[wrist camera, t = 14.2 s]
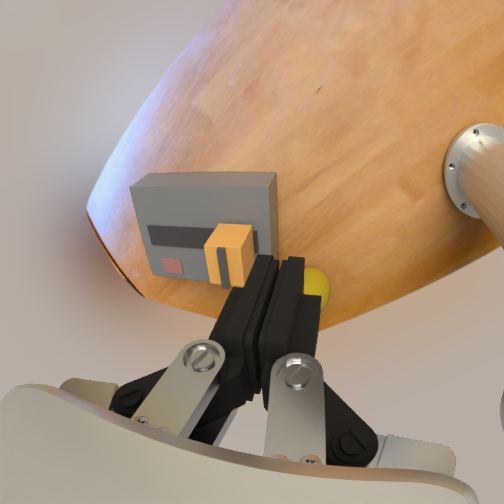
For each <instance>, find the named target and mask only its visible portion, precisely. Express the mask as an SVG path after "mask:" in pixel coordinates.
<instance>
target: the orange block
mask: <svg viewBox="0 0 504 504" xmlns="http://www.w3.org/2000/svg"><path fill="white" fill-rule="evenodd" d="M204 250H205V256H206V262H207V267H208V273H209V278H210V283H212V284H221V285H222V288H225V289H229V288H230V286H239V287H244V285H245V282H246V280H247V278H248V275H249V273H250V271H251V268H252V266H253V264H254V261H255V256H254V242H253V228H252V225H242V224H223V223H219V224H218V226H217V227H216V229H215V230H214V231H213V233H212V234H211V236H210V237H209V239H208V240H207V242H206V243H205V245H204Z"/></svg>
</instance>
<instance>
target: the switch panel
mask: <svg viewBox="0 0 504 504" xmlns="http://www.w3.org/2000/svg"><path fill="white" fill-rule="evenodd" d="M130 192H131V196H132V200H133V204H134V208H135V212H136V216H137V220H138V224H139V228H140V232H141V236H142V239H143V243H144V246H145V250H146V254H147V257H148V260H149V264H150V267H151V271H152V274H153V275H158V276H165V277H173V278H181V279H190V280H198V281H207V282H210V278H209V273H208V267H207V262H206V256H205V250H204V245H205V243H206V242H207V240H208V239H209V237H210V236H211V234H212V233H213V231H214V230H215V229H216V227H217V226H218V224H219V223H223V224H242V225H252V228H253V242H254V256H255V259H256V257H257V255H258V254H264V255H273V256H274V259H277V260H279V255H278V216H277V185H276V172H182V173H156V174H148V175H146V176H145V177H144V178H142V179H141V180H139V181H138V182H136V183H135V184H134V185H132V186H131V187H130Z"/></svg>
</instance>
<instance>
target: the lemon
mask: <svg viewBox="0 0 504 504" xmlns="http://www.w3.org/2000/svg"><path fill="white" fill-rule="evenodd" d="M304 294H309V295H320V296H322V301H321V310H322V309H323V308H324V307H325V306H326V304H327V302H328V300H329V296H330V283H329V280H328V278H327V276H326V275H325V273H324V272H322V271H321V270H319V269H317V268H314V267H307V268H304Z"/></svg>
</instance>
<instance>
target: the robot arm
mask: <svg viewBox="0 0 504 504" xmlns="http://www.w3.org/2000/svg"><path fill="white" fill-rule="evenodd" d="M474 130H475V132H474V133H473V131H474ZM450 164H451V166H449V165H450ZM444 182H445V186H446V189H447V192H448V194H449V196H450V198H451V200H452V201H453V203H454V204H455V205H456V207H457V208H458V209H459V210H460V211H461V212H463V213H464V214H466V215H468V216H470V217H473V218H477V219H482V221H483V222H484V223H485V224H486V226H487V227H488V228H489V230H490V231H491V232H492V234H493V235H494V237H495V238H496V239H497V241H498V242H499V243H500V245H501V246H502V248H503V249H504V128H502V127H500V126H498V125H496V124H492V123H489V122H479V123H475V124H472V125H470V126H468V127H466V128H464V129H463V130H462V131H461V132H459V133H458V135H457V136H456V137H455V138H454V139H453V141H452V143H451V145H450V146H449V148H448V151H447V154H446V157H445V162H444ZM462 203H463V204H462ZM304 267H305V259H304V257H291V256H289V258H288V260H283V261H282V264H281V267H280V270H279V260H277V259H274V256H273V255H264V254H258V255H257V257H256V259H255V261H254V264H253V266H252V268H251V271H250V273H249V275H248V278H247V280H246V282H245V285H244V287H243V288H237V287H234V288H233V289H232V290H231V292H230V294H229V296H228V298H227V300H226V303H225V305H224V307H223V309H222V311H221V313H220V315H219V317H218V320H217V322H216V324H215V326H214V328H213V330H212V332H211V334H210V337H209V339H208V340H207V339H204V340H197V341H193V342H191V343H189V344H188V345H186V346H185V347H184V348H183V349H182V350H181V351H180V353H179V354H178V355H177V357H176V358H175V359H174V361H173V362H172V363H171V365H170V366H169V367H167V368H164V369H162V370H159V371H157V372H154V373H152V374H150V375H147V376H145V377H142V378H140V379H137V380H134V381H132V382H129V383H127V384H125V385H123V386H121V387H119V386H118V385H117V384H114V383H106V382H98V381H91V380H84V379H78V378H71V379H69V380H66V381H65V382H64V383H63V384H62V385H61V386H60V388H56V387H52V386H48V385H42V384H24V385H20V386H17V387H15V388H13V389H12V390H11V391H10V392H9V393H7V395H6V396H5V397H4V398H3V399H2V400H1V402H0V504H479V501H478V498H477V495H476V494H475V492H474V490H473V489H472V488H471V487H470V486H469V485H467V484H466V483H464V482H462V481H460V480H458V479H456V478H453V476H454V471H455V466H456V457H455V455H454V452H453V451H452V450H451V449H450V448H449V447H447V446H444V445H441V444H435V443H429V442H424V441H419V440H413V439H408V438H404V437H399V436H394V435H390V434H388V435H387V436H383V435H379V434H375V433H374V431H373V430H372V429H371V428H370V427H369V426H368V425H367V424H366V423H365V422H364V421H363V420H362V419H361V418H360V417H359V416H358V415H357V414H356V413H355V412H354V411H353V410H352V409H351V408H350V407H349V406H348V405H347V404H346V403H345V402H344V401H343V400H342V399H341V398H340V397H339V396H338V395H337V394H336V393H335V392H334V391H333V390H332V389H331V388H330V387H329V386H328V385H327V384H326V383H325V382H324V379H323V370H322V366H321V364H320V363H319V362H318V360H316V359H315V351H316V344H317V337H318V330H319V321H320V312H321V301H322V296H320V295H309V294H304ZM261 388H262V393H263V402H264V408H265V409H266V410H267V412H268V415H267V426H266V436H265V446H264V447H265V448H264V456H263V457H262V456H257V455H252V454H247V453H242V452H237V451H233V450H229V449H224V448H220V447H218V446H219V444H220V442H221V440H222V439H223V437H224V435H225V433H226V431H227V430H228V428H229V426H230V424H231V422H232V420H233V419H234V417H235V415H236V413H237V409H238V407H240V406H242V405H244V404H245V403H246V400H247V401H252V400H253V396H254V393H255V394H260V391H261ZM500 418H501V423H502V427H503V430H504V392H503V395H502V398H501V405H500Z"/></svg>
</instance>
